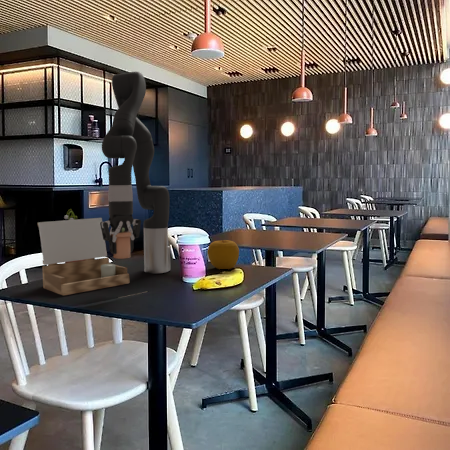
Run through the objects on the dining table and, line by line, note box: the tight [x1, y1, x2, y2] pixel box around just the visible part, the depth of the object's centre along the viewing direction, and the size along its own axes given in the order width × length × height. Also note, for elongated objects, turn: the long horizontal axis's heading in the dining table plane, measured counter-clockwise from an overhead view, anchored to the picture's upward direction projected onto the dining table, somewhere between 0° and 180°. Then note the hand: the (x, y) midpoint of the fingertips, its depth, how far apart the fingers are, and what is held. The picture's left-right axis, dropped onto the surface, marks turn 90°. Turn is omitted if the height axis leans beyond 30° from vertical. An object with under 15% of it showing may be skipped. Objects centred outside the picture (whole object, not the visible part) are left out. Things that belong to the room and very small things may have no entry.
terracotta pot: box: [112, 228, 132, 260], centre depth 157 cm, size 6×6×10 cm
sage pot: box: [101, 263, 116, 278], centre depth 169 cm, size 5×5×6 cm
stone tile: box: [116, 291, 148, 299], centre depth 159 cm, size 11×11×1 cm
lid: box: [37, 217, 108, 266], centre depth 170 cm, size 23×14×1 cm
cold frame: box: [41, 257, 131, 296], centre depth 166 cm, size 24×18×18 cm
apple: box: [207, 239, 240, 270], centre depth 198 cm, size 13×13×11 cm
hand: (121, 252), depth 158 cm, fingers closed on terracotta pot, 5 cm apart
